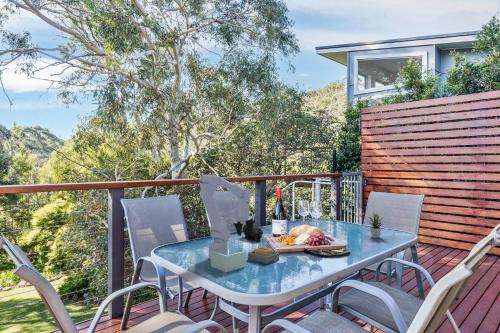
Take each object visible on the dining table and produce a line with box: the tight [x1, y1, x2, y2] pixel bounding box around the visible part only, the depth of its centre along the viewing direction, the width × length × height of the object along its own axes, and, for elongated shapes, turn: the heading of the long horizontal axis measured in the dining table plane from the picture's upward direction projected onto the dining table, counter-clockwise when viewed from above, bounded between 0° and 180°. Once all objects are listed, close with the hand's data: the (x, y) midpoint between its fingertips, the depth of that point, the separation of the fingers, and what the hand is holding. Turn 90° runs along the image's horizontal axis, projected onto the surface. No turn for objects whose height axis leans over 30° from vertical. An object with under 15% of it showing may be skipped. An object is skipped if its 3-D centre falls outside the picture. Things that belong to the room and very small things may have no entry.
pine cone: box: [242, 223, 264, 243], centre depth 225 cm, size 10×18×10 cm, turn 35°
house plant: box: [365, 212, 385, 239], centre depth 231 cm, size 14×14×16 cm
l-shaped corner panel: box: [210, 250, 247, 273], centre depth 169 cm, size 12×12×8 cm
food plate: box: [307, 245, 351, 256], centre depth 196 cm, size 25×23×4 cm
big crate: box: [247, 250, 280, 265], centre depth 180 cm, size 10×12×4 cm
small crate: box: [254, 246, 273, 257], centre depth 180 cm, size 5×7×5 cm
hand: (244, 234), depth 195 cm, fingers open, 7 cm apart
